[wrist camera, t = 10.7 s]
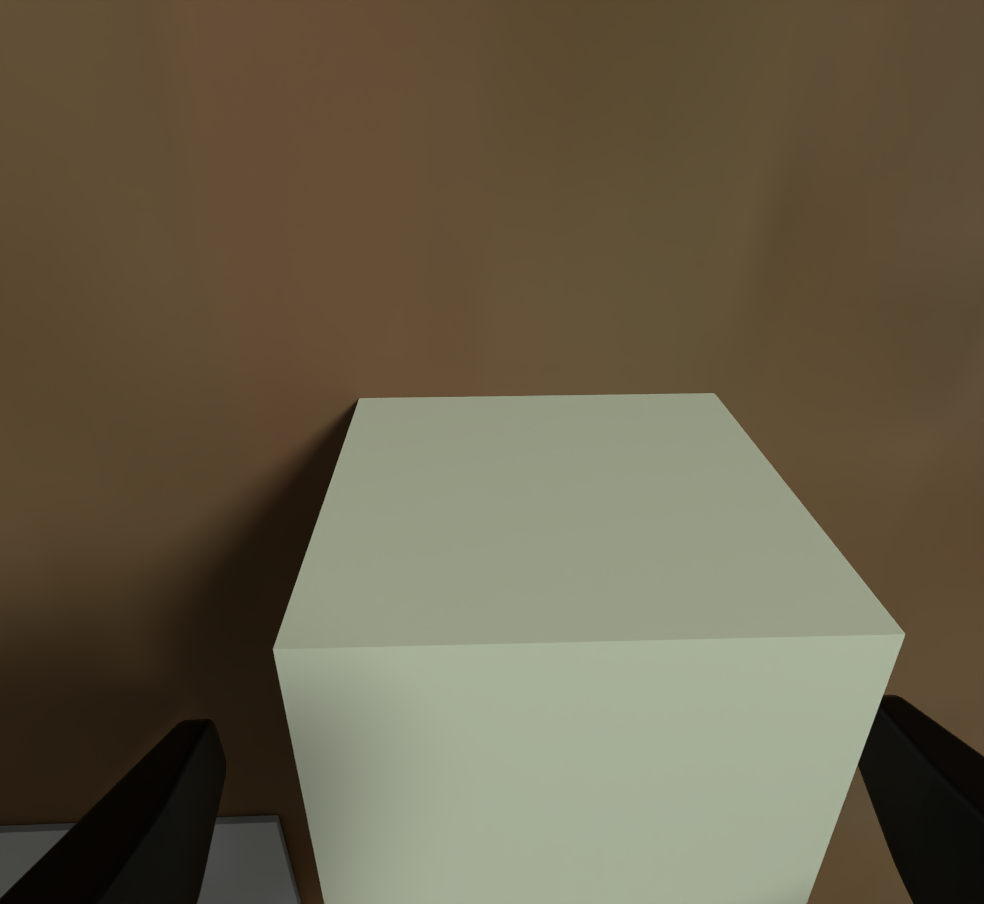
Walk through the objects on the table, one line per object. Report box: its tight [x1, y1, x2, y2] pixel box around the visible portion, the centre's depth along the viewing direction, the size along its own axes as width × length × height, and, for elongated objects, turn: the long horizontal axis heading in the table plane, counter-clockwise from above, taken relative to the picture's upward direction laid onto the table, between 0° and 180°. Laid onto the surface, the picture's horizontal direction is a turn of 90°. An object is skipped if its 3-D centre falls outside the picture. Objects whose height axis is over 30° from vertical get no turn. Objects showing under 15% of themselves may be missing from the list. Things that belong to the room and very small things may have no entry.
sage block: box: [273, 393, 905, 904], centre depth 10 cm, size 5×8×5 cm, turn 0°
